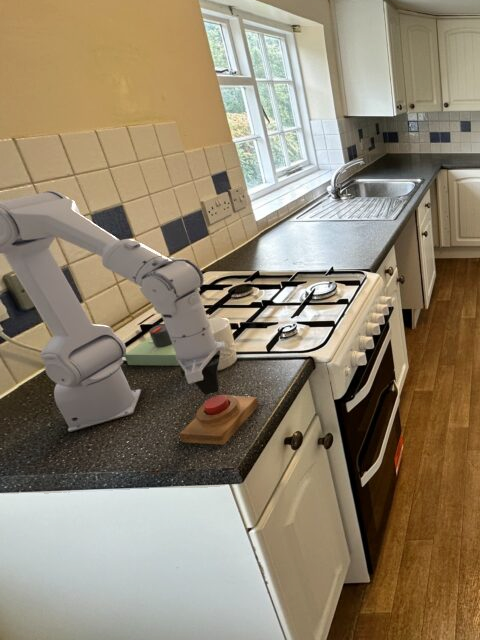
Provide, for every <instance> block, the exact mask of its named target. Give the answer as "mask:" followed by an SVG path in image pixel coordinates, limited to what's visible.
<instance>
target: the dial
mask: <svg viewBox="0 0 480 640" xmlns="http://www.w3.org/2000/svg"><path fill="white" fill-rule="evenodd" d="M148 332H149V335H150V336H151V338H152V340H153V343H154V345H155V347H165V346H168V345H171V344H172V342H171V339H170V337H169V334H168V331H167V329H166V326H165V323H161V324H157V325H155V326H153V327H152V328H150V329H149V330H148Z"/></svg>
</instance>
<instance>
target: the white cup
mask: <svg viewBox="0 0 480 640" xmlns="http://www.w3.org/2000/svg"><path fill="white" fill-rule="evenodd" d="M208 321H209V324H210V327H211V330H212V333H213V336H214V339H215V341H216V342H221V341H223V342H224V343H225V348H224V349H223V350H220V359H219V364H218V371H221V370H225V369H226V368H229V367H231V366H233V364H235V363H236V362H237V360H238V355H237V351H236V343H235V338H234V334H233V330H232V327H231V323H230V320H229V319H228V318H226V317H212V318H208Z"/></svg>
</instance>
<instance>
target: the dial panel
mask: <svg viewBox="0 0 480 640" xmlns="http://www.w3.org/2000/svg"><path fill="white" fill-rule="evenodd" d="M124 359H125V361H126V363H127V365H128V366H180V364H179V363H178V361H177V359H176V352H175V350H174V347H173V344H171V345H168V346H165V347H155V345H154V343H153V340H152V338H151V335H150V336H149V337H147V338H145V339H144V340H143V341H141V342H140V343H138V344H137V345H136V346H134V347H133V348H131V349H130V350H128V351H126V354H125V356H124Z"/></svg>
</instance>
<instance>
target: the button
mask: <svg viewBox="0 0 480 640" xmlns="http://www.w3.org/2000/svg"><path fill="white" fill-rule="evenodd" d="M225 395H226V394H219V395H215V396H212V397H210V398H208V399H207V400H206V401H205V402H204V403H205V404H204V403H203V404H204V408H205V410H206V413H207V414H208V415H215V414H218V413H220V412H222V411H224V410H226V409H227V408H228V407H229V403H228V400H227V397H226V396H225Z"/></svg>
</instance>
